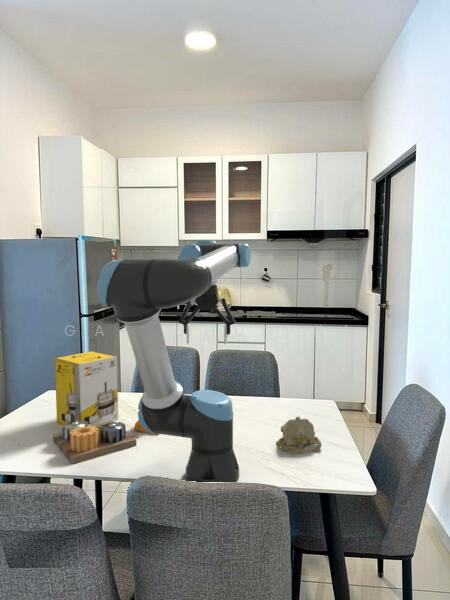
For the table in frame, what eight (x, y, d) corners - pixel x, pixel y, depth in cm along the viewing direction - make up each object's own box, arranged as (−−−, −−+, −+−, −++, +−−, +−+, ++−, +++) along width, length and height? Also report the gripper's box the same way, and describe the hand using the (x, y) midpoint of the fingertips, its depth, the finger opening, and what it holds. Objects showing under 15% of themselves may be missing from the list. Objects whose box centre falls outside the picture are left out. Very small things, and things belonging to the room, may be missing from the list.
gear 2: (129, 439, 133) (129, 425, 133) (105, 445, 128) (104, 431, 128) (119, 430, 140) (119, 417, 139) (96, 437, 135) (95, 423, 134)
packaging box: (81, 433, 143) (79, 364, 141) (56, 422, 153) (54, 358, 151) (118, 419, 156) (116, 356, 154) (93, 410, 166) (91, 351, 164)
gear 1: (92, 437, 135) (91, 416, 134) (66, 443, 130) (65, 422, 129) (83, 429, 142) (83, 409, 141) (59, 435, 136) (58, 415, 136)
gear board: (136, 445, 133) (136, 427, 133) (71, 464, 120) (71, 444, 120) (112, 425, 150) (111, 410, 149) (53, 440, 137) (52, 423, 136)
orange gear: (91, 452, 124) (90, 436, 123) (65, 450, 125) (64, 435, 124) (102, 440, 132) (102, 426, 131) (78, 439, 133) (78, 424, 133)
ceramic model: (280, 454, 126) (280, 423, 125) (274, 439, 137) (274, 411, 137) (324, 453, 127) (324, 423, 126) (314, 438, 138) (315, 410, 137)
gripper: (242, 283, 144) (242, 341, 146) (175, 283, 148) (175, 340, 149) (240, 284, 137) (240, 345, 139) (169, 284, 140) (170, 344, 142)
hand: (207, 343), depth 144 cm, fingers open, 13 cm apart
